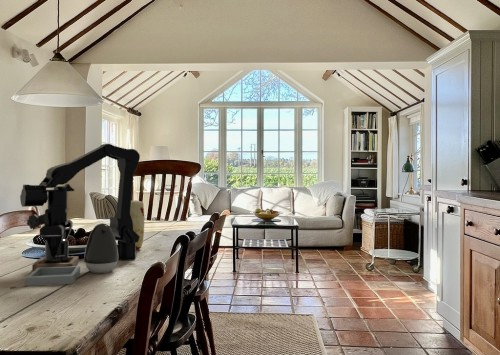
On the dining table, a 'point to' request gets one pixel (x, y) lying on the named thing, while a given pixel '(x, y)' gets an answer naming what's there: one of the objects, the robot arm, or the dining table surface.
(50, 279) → the slate tray
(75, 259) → the walnut collar
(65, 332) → the dining table surface
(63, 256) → the supplement bottle
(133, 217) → the food model
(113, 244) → the grey egg shaped device
